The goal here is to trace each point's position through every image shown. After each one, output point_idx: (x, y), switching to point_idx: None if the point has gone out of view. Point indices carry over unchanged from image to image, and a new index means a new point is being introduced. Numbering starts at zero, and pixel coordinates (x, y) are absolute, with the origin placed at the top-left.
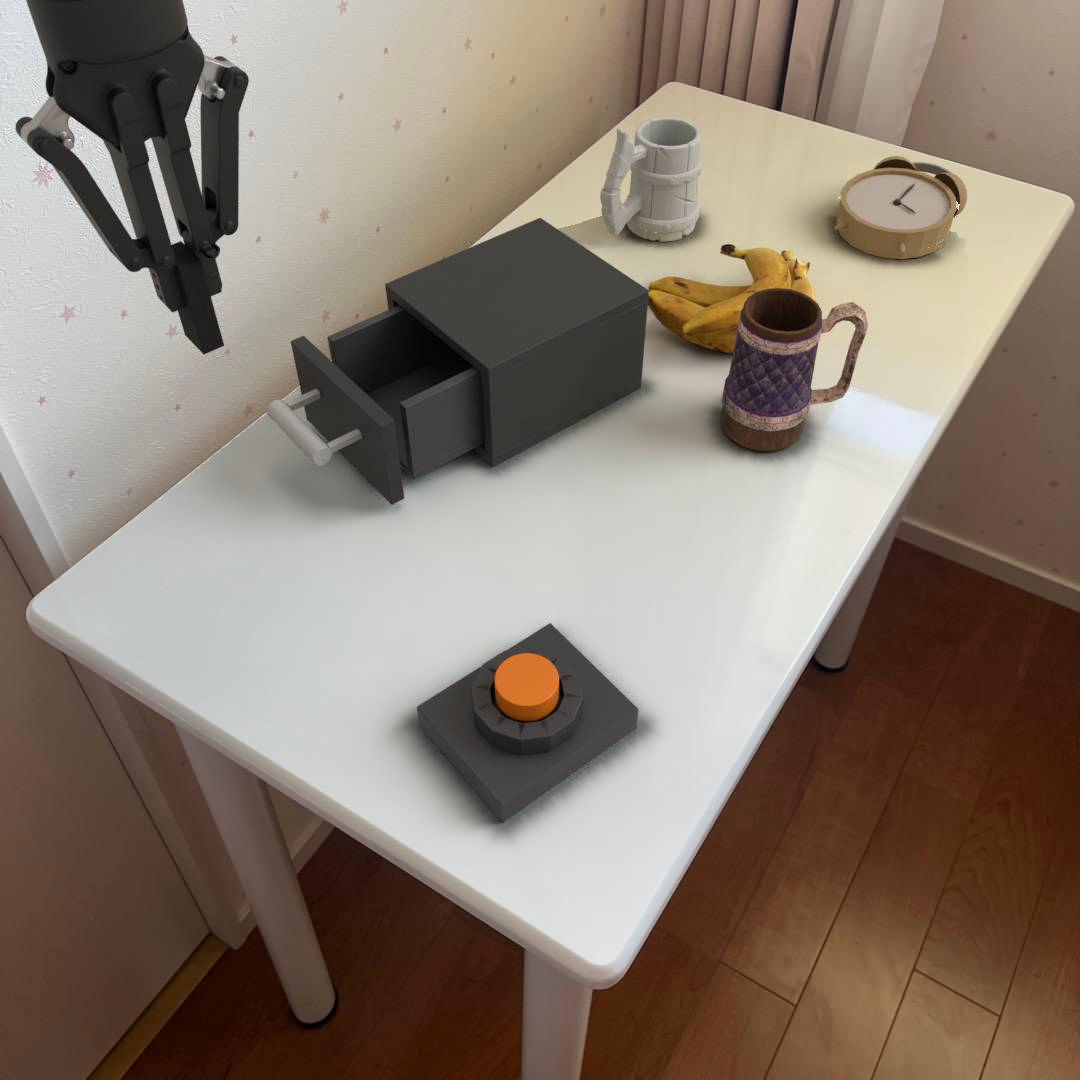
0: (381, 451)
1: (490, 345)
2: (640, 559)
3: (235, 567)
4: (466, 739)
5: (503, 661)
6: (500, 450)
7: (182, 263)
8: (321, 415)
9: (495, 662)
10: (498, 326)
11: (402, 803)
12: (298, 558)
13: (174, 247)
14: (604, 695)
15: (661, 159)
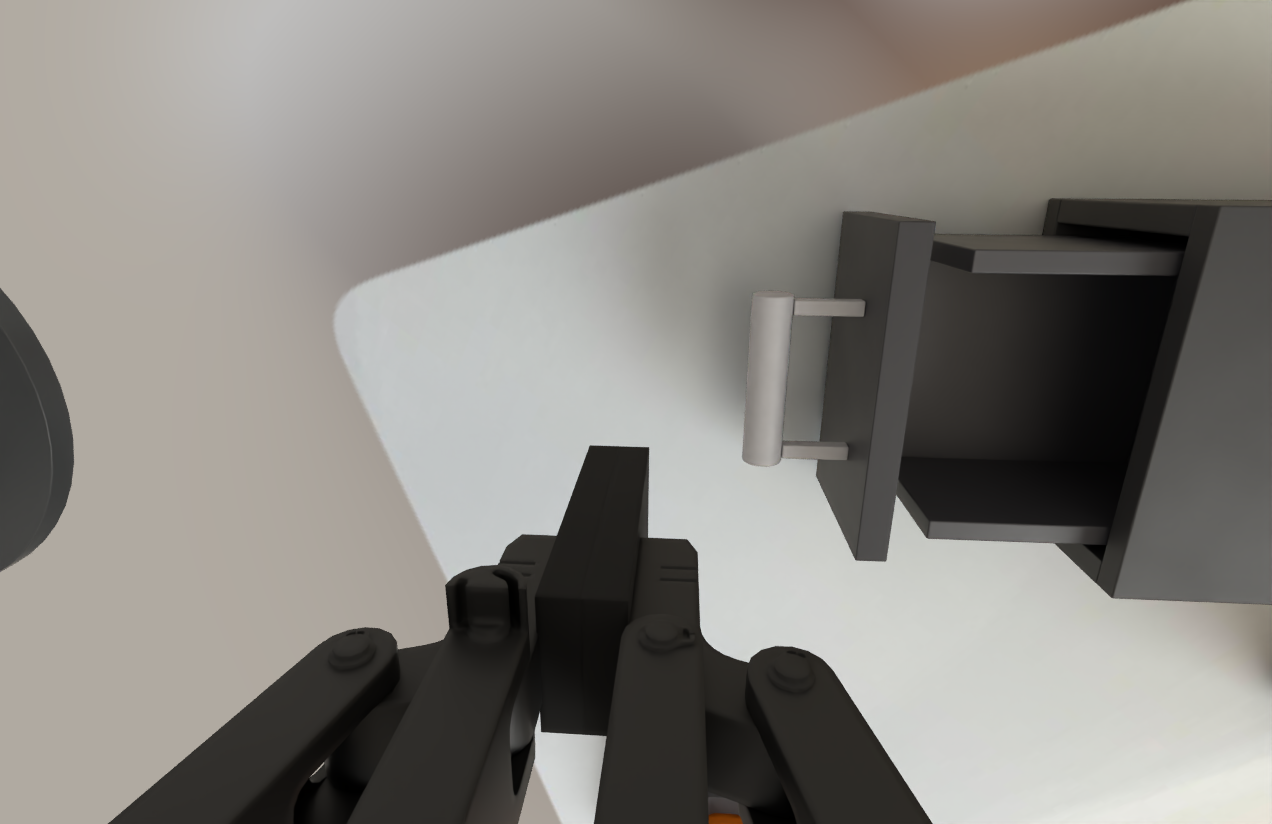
0: (840, 520)
1: (1177, 549)
2: (993, 715)
3: (579, 411)
4: None
5: (730, 808)
6: None
7: (565, 718)
8: (848, 291)
9: (722, 803)
10: (1246, 513)
11: (569, 769)
12: (658, 452)
13: (587, 623)
14: None
15: None
